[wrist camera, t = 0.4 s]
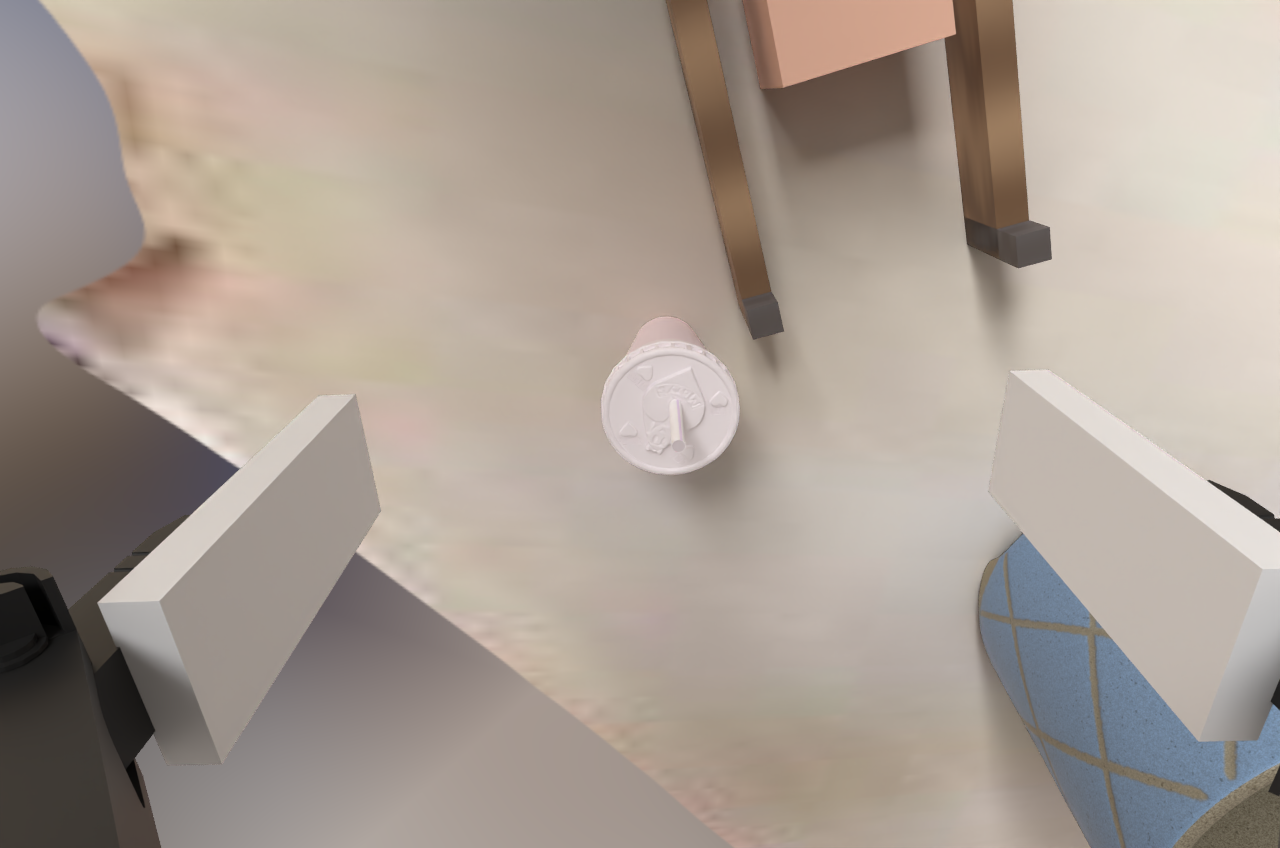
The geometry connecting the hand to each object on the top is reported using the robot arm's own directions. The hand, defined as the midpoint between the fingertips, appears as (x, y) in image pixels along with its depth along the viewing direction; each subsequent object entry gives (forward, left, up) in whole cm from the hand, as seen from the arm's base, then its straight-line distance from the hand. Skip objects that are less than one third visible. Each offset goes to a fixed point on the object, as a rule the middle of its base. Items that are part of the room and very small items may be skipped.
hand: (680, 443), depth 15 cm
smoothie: (+7, -1, -27) cm, 28 cm away
